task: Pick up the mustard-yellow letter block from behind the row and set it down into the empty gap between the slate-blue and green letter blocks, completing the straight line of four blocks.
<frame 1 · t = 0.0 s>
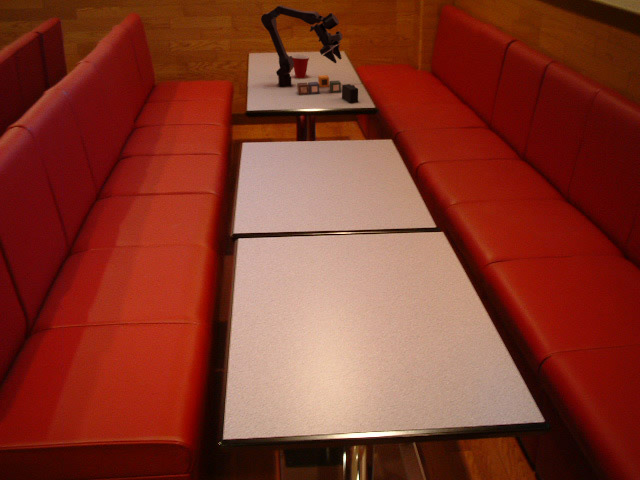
hand: (338, 61, 336), 15 cm above the table, tool tilted 35°, fingers open, 9 cm apart
green block: (335, 91, 339), on the table
slate block: (313, 92, 337), on the table
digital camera: (351, 100, 323), on the table
plastic cup: (301, 77, 368), on the table
walnut block: (303, 93, 336), on the table
mustard block: (323, 85, 350), on the table
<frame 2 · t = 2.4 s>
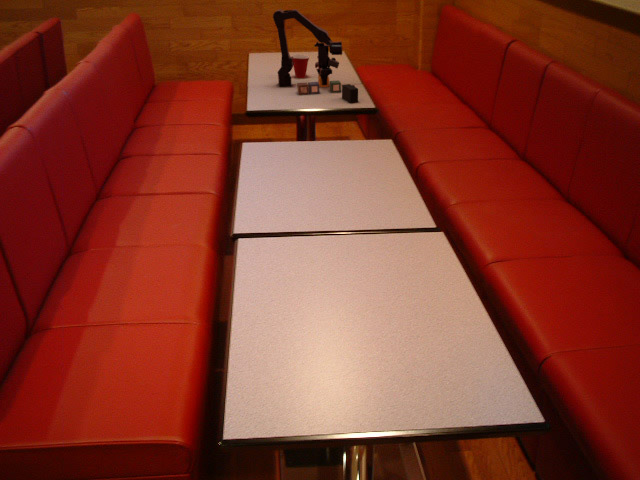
hand: (323, 83, 349), 1 cm above the table, tool pointing down, fingers closed on mustard block, 5 cm apart
mustard block: (323, 85, 350), on the table, touching gripper
everything else where it was.
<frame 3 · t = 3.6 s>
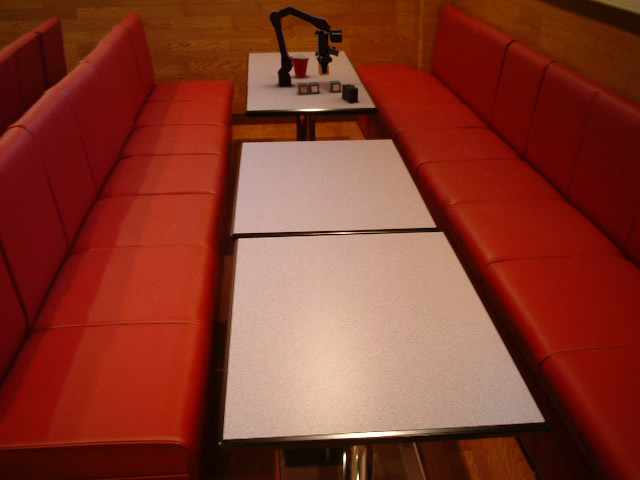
hand: (323, 72, 346), 7 cm above the table, tool pointing down, fingers closed on mustard block, 5 cm apart
mustard block: (323, 74, 347), point 6 cm above the table, touching gripper
everything else where it was.
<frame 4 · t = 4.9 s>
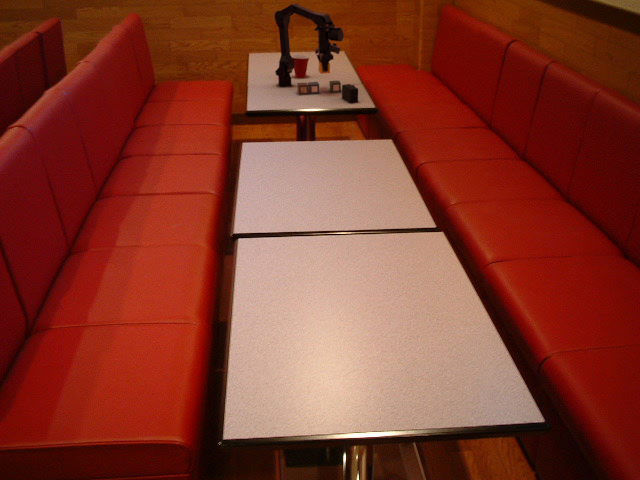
hand: (324, 70, 334), 11 cm above the table, tool pointing down, fingers closed on mustard block, 5 cm apart
mustard block: (324, 72, 335), point 10 cm above the table, touching gripper
everything else where it was.
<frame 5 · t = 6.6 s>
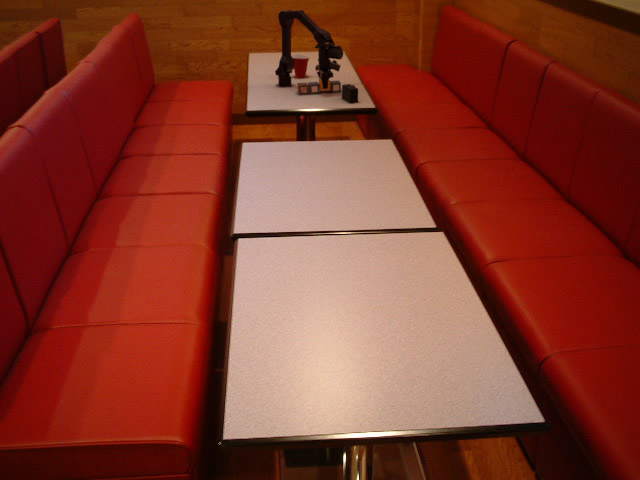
hand: (324, 87, 337), 2 cm above the table, tool pointing down, fingers closed on mustard block, 5 cm apart
mustard block: (324, 89, 337), point 1 cm above the table, touching gripper
everything else where it was.
when the fingers open (1 cm above the table, at t = 7.5 s): mustard block stays where it is, on the table.
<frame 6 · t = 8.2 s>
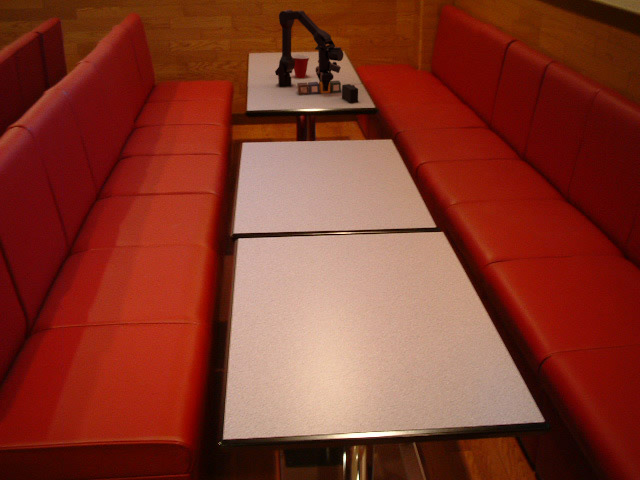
hand: (324, 88, 337), 2 cm above the table, tool pointing down, fingers open, 9 cm apart
mustard block: (324, 91, 338), on the table
everything else where it was.
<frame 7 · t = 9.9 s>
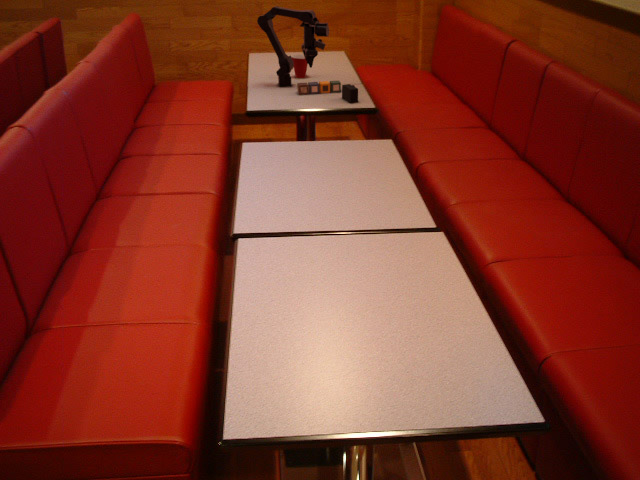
hand: (309, 65, 342), 12 cm above the table, tool pointing down, fingers open, 9 cm apart
nothing on the table moved.
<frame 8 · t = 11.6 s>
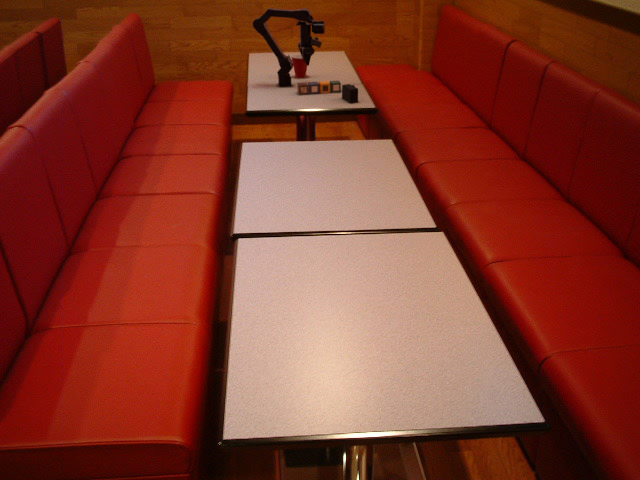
hand: (306, 63, 344), 12 cm above the table, tool pointing down, fingers open, 9 cm apart
nothing on the table moved.
at the end: mustard block 0.2 cm from the target spot, on the table; slate block moved 0.0 cm from its start; green block moved 0.0 cm from its start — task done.
